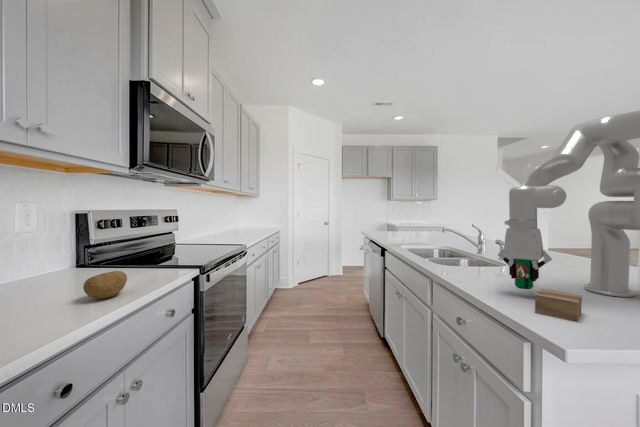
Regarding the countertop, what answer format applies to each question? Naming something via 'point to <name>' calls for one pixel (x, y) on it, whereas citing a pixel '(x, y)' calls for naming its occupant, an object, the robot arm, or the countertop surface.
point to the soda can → (523, 273)
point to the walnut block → (558, 304)
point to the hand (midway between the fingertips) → (523, 278)
